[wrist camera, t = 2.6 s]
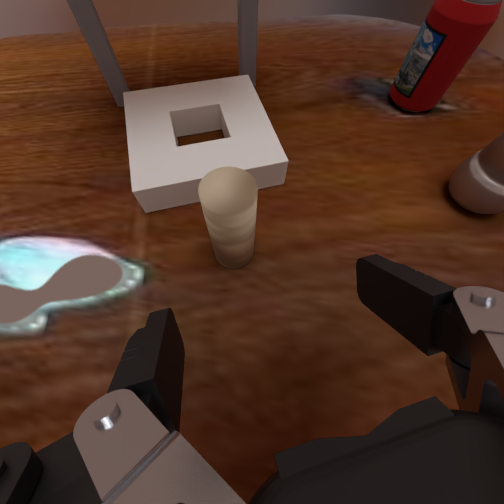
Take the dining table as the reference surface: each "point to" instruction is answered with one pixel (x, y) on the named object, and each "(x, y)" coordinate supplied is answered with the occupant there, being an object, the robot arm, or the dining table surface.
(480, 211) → the plastic bottle
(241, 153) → the socket
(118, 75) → the two-legged shelf table
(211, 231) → the peg
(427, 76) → the beverage can
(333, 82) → the dining table surface
